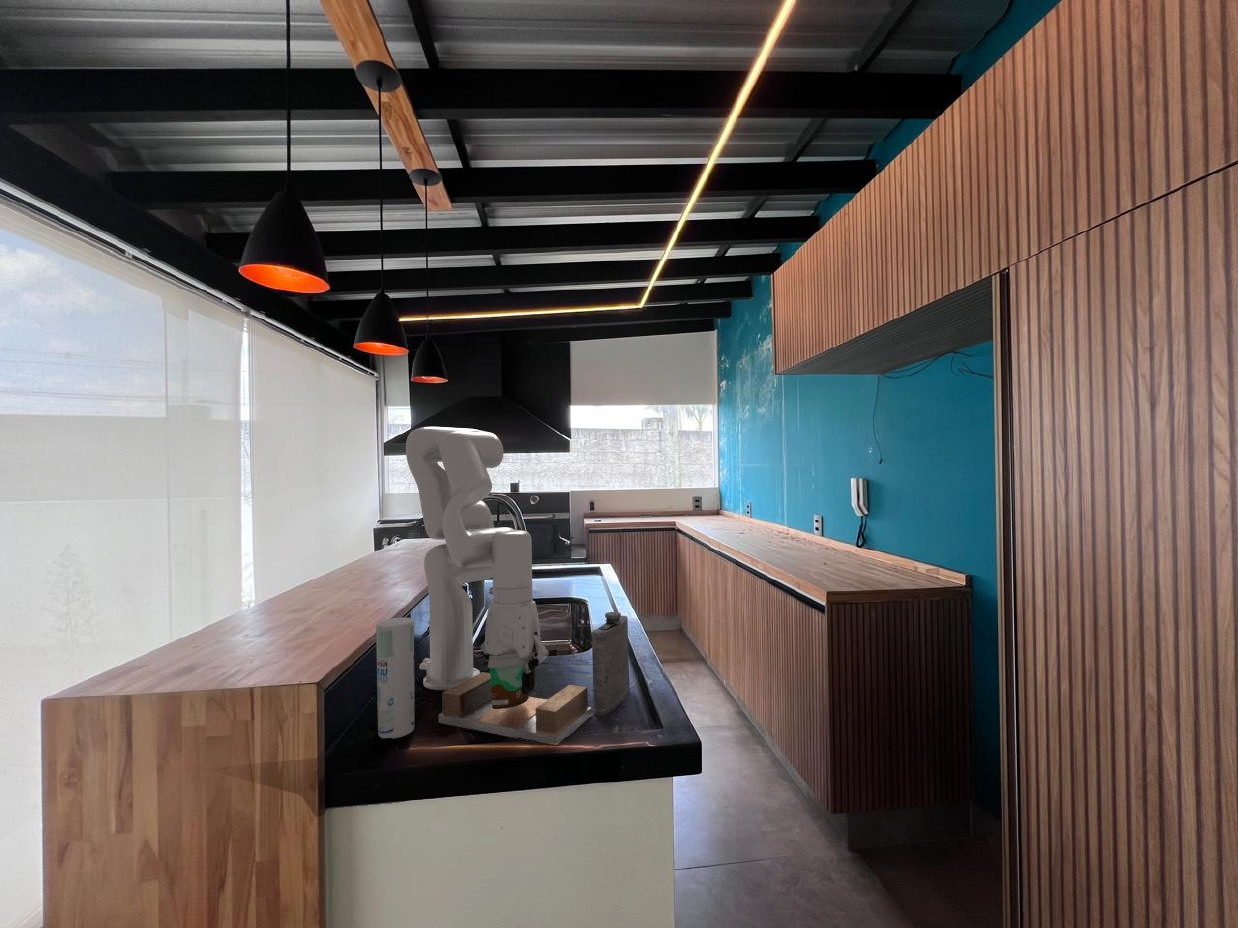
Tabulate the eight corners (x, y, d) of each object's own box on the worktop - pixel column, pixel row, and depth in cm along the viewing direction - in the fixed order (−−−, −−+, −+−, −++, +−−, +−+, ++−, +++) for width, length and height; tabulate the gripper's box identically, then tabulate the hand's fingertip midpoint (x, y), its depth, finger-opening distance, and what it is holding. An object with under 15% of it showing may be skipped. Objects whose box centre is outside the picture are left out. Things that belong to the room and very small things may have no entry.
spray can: (421, 730, 100) (419, 621, 100) (385, 742, 95) (384, 628, 96) (406, 719, 104) (405, 615, 105) (371, 731, 100) (370, 622, 100)
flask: (634, 689, 116) (632, 605, 117) (608, 716, 103) (606, 622, 104) (619, 687, 118) (616, 604, 118) (591, 714, 104) (588, 620, 105)
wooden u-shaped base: (438, 722, 103) (438, 693, 103) (482, 697, 114) (481, 670, 115) (556, 746, 92) (556, 713, 92) (591, 715, 104) (590, 686, 104)
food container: (520, 714, 97) (519, 657, 97) (488, 712, 98) (488, 656, 98) (544, 688, 109) (543, 638, 109) (515, 687, 110) (514, 637, 110)
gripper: (464, 596, 104) (465, 690, 104) (540, 602, 97) (542, 703, 97) (488, 588, 111) (490, 677, 110) (561, 593, 104) (563, 688, 104)
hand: (514, 688), depth 104 cm, fingers closed on food container, 5 cm apart
